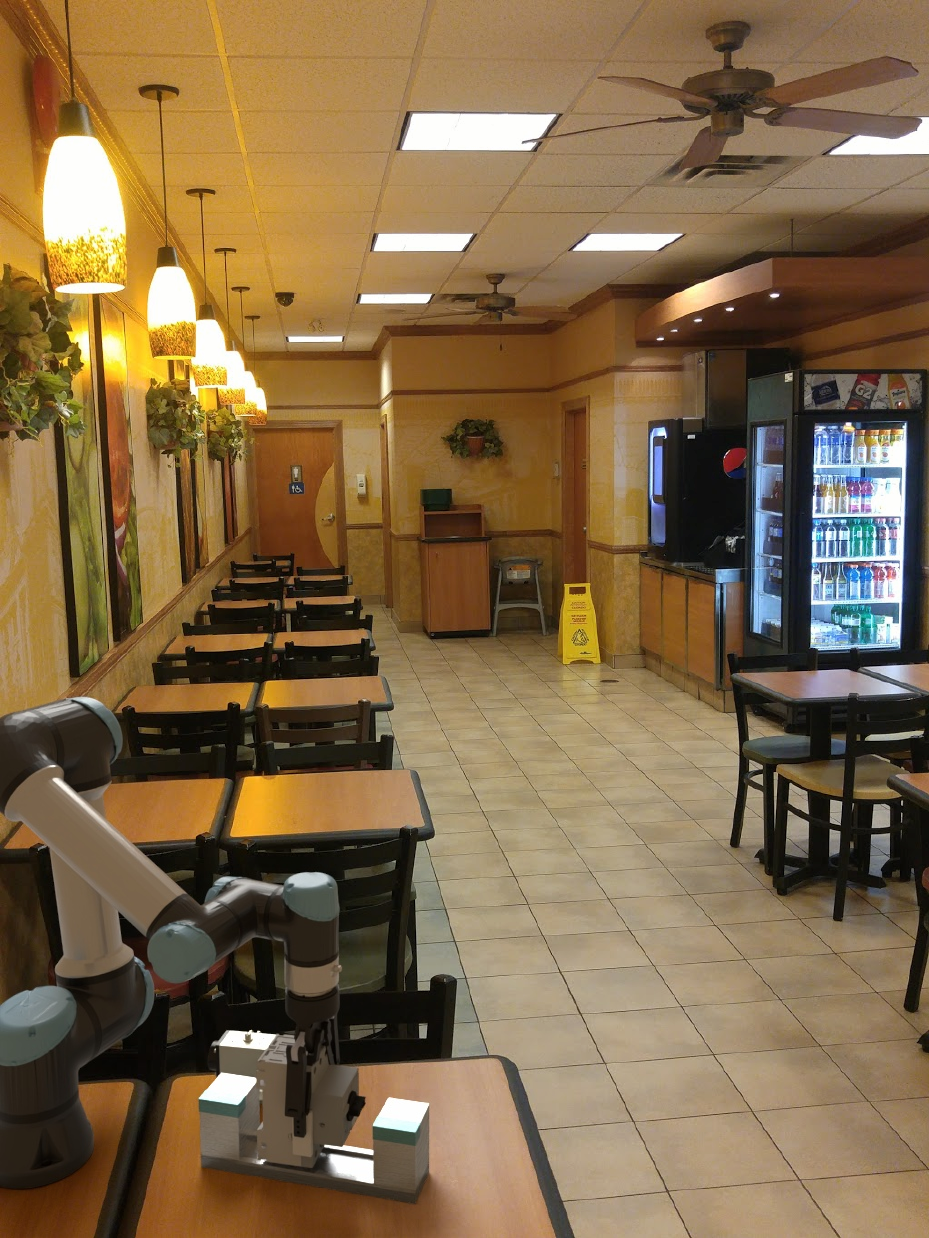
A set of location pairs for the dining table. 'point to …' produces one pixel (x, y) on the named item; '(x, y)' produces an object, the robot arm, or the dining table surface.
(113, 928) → the robot arm
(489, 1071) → the dining table surface
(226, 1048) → the pneumatic valve
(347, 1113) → the circuit breaker
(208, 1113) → the rail with modules
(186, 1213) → the dining table surface
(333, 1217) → the dining table surface
